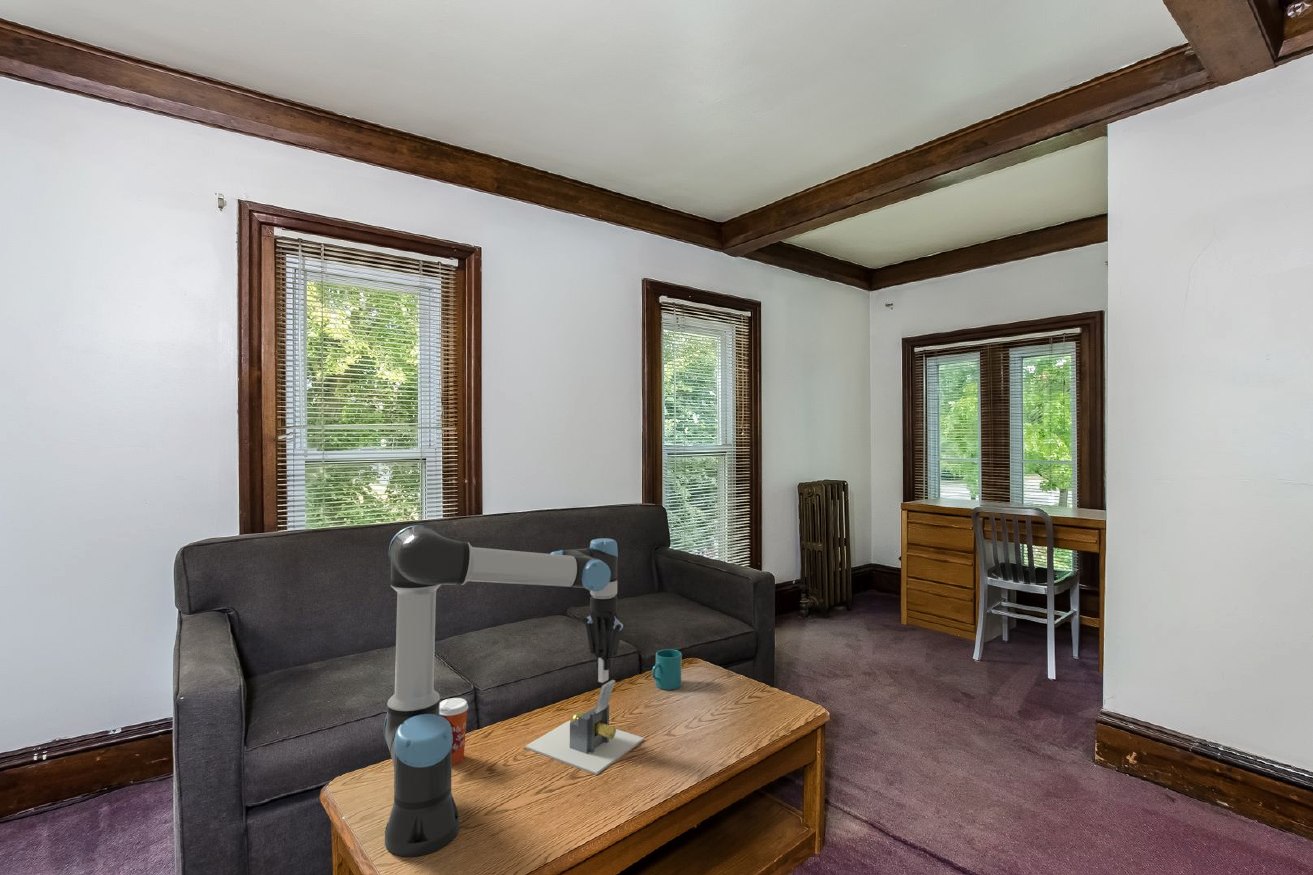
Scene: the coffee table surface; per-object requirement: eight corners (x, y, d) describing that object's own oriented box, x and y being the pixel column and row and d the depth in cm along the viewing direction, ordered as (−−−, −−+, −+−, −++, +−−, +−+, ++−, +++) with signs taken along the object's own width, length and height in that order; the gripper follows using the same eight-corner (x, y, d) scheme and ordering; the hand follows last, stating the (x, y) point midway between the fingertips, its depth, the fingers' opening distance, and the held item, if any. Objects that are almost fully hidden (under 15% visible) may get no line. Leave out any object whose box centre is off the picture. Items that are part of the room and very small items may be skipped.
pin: (569, 733, 172) (570, 715, 172) (581, 726, 176) (581, 708, 177) (606, 746, 165) (606, 727, 165) (618, 738, 170) (618, 719, 170)
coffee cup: (458, 769, 159) (458, 711, 159) (429, 765, 160) (429, 708, 160) (474, 753, 167) (474, 698, 167) (446, 749, 169) (447, 695, 169)
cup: (643, 686, 213) (644, 654, 213) (669, 678, 221) (669, 647, 221) (660, 695, 206) (660, 661, 206) (686, 686, 214) (686, 654, 214)
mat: (596, 774, 156) (596, 772, 156) (525, 748, 170) (525, 745, 170) (643, 739, 175) (643, 737, 175) (576, 718, 188) (576, 716, 188)
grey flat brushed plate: (593, 712, 168) (602, 685, 166) (604, 705, 172) (613, 679, 170) (595, 713, 167) (604, 687, 166) (606, 707, 172) (615, 681, 170)
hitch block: (569, 747, 169) (569, 710, 169) (592, 733, 177) (592, 697, 177) (589, 754, 165) (589, 716, 165) (611, 739, 174) (611, 703, 174)
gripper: (630, 595, 169) (630, 681, 169) (593, 589, 176) (593, 671, 176) (614, 601, 163) (614, 690, 163) (576, 594, 170) (576, 679, 170)
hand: (603, 680), depth 169 cm, fingers closed
